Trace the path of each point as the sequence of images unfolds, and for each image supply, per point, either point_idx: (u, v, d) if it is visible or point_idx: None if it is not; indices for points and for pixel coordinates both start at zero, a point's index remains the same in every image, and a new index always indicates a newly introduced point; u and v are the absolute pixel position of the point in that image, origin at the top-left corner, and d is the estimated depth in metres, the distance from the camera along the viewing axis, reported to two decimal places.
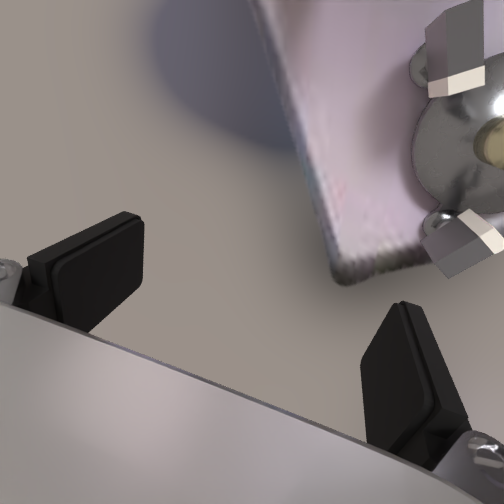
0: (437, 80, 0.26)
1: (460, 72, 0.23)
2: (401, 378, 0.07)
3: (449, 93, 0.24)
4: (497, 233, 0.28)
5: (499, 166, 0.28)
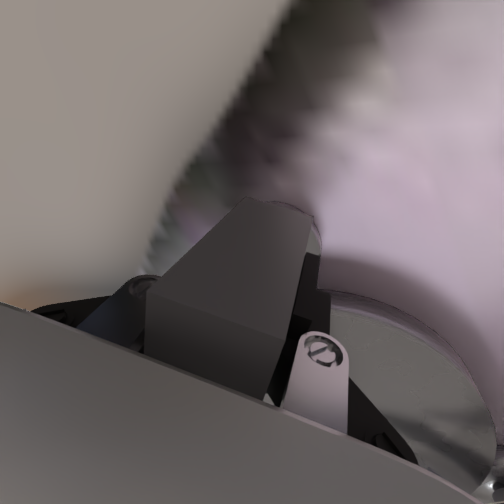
0: None
1: None
2: None
3: None
4: None
5: None
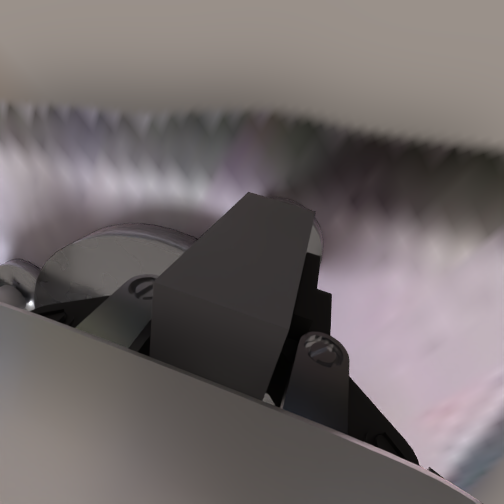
0: None
1: None
2: None
3: None
4: None
5: None
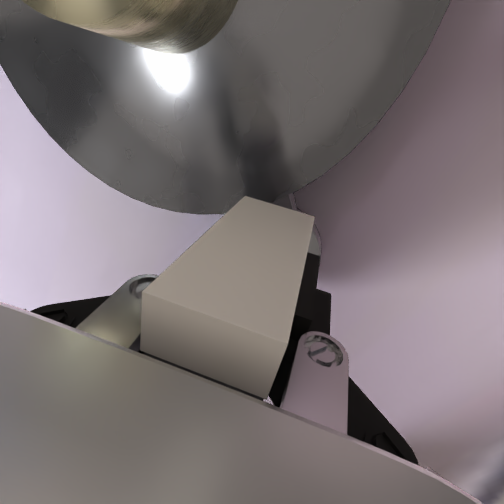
0: None
1: (220, 379, 0.05)
2: None
3: (281, 348, 0.05)
4: None
5: None
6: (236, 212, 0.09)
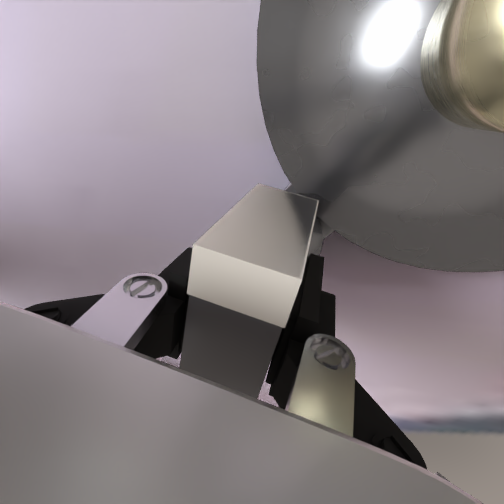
0: None
1: (248, 314, 0.07)
2: None
3: (296, 284, 0.06)
4: None
5: None
6: (253, 195, 0.10)
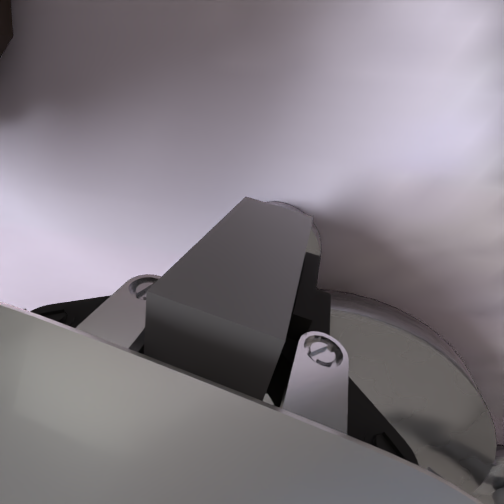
0: None
1: None
2: None
3: None
4: None
5: None
6: None
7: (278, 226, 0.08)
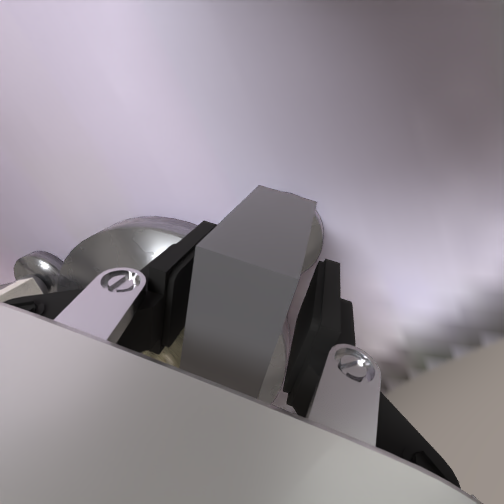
0: None
1: None
2: (307, 315, 0.09)
3: None
4: None
5: None
6: (8, 295, 0.17)
7: (288, 207, 0.10)
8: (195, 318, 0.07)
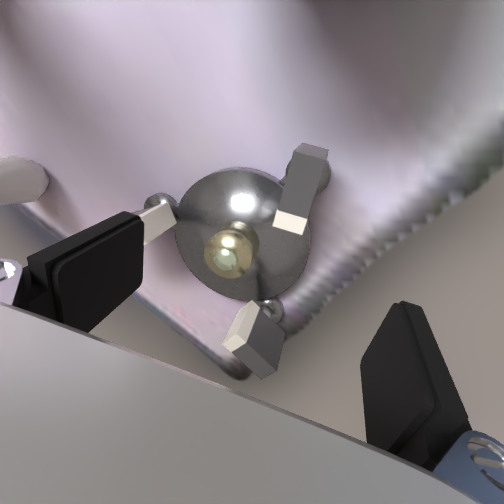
0: None
1: None
2: (401, 378, 0.07)
3: (144, 244, 0.28)
4: (226, 342, 0.31)
5: (227, 277, 0.31)
6: (161, 208, 0.31)
7: (317, 149, 0.24)
8: (289, 180, 0.22)
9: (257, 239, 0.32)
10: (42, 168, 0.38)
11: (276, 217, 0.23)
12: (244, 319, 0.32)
